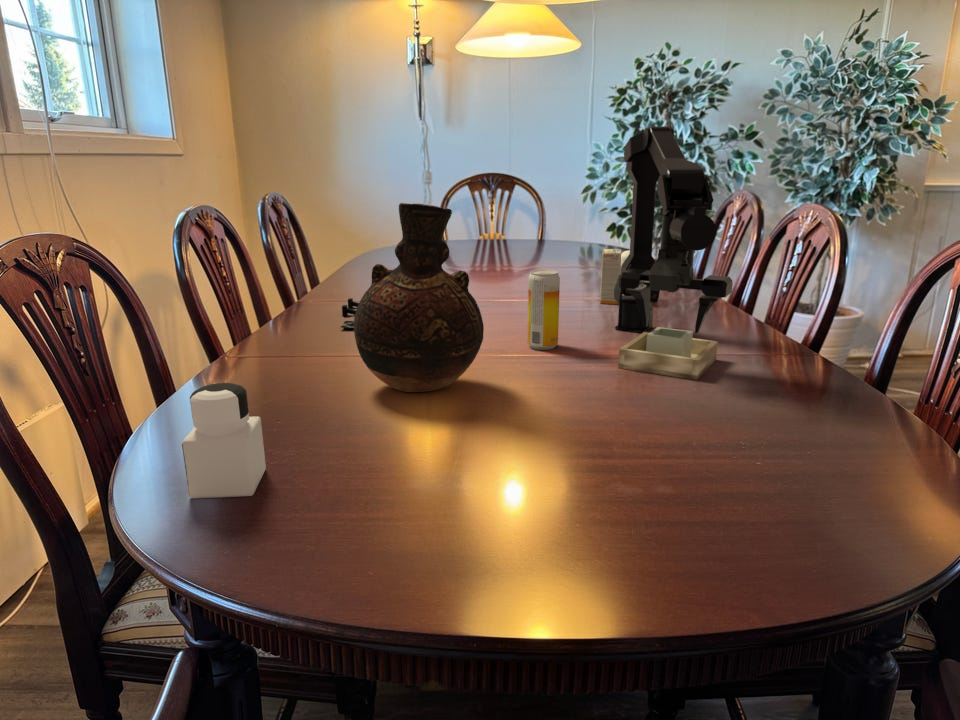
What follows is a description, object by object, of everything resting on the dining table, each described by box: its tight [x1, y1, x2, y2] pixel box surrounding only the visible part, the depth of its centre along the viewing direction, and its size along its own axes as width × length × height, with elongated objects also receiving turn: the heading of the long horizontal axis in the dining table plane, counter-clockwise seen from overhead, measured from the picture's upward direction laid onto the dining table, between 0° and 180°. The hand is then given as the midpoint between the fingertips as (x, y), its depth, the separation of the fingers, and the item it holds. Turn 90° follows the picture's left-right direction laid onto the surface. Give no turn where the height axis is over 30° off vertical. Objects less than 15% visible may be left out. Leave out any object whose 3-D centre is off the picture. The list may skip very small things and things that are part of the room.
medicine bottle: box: [181, 382, 267, 499], centre depth 79 cm, size 7×7×12 cm
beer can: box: [527, 269, 561, 351], centre depth 135 cm, size 6×6×15 cm
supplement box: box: [599, 248, 622, 305], centre depth 176 cm, size 8×5×13 cm, turn 168°
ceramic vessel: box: [353, 202, 485, 393], centre depth 110 cm, size 21×18×30 cm
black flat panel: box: [340, 297, 359, 329], centre depth 164 cm, size 30×3×15 cm
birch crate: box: [617, 331, 719, 381], centre depth 125 cm, size 14×14×4 cm
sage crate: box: [646, 326, 694, 358], centre depth 124 cm, size 6×6×5 cm
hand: (670, 329), depth 123 cm, fingers open, 9 cm apart
